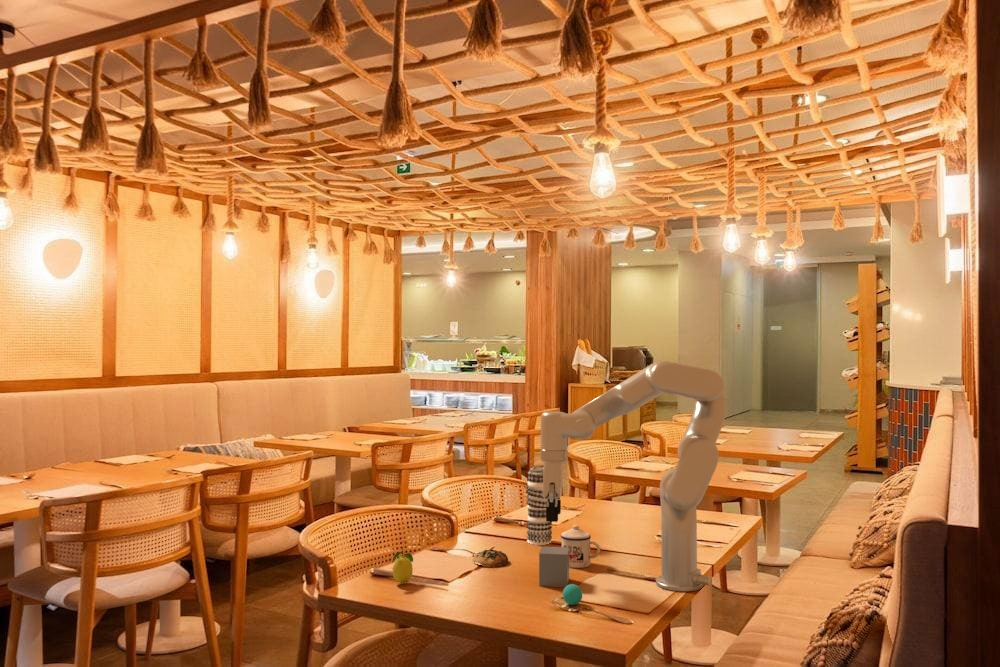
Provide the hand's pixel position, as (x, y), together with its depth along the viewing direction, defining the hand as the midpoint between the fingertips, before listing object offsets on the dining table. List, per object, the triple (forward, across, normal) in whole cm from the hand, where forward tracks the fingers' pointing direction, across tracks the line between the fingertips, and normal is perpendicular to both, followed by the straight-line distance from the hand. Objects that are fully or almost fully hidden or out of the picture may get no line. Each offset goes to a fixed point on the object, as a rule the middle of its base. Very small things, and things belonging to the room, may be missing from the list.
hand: (553, 517), depth 209 cm
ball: (+15, +18, +6) cm, 24 cm away
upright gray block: (+18, 0, 0) cm, 18 cm away
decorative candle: (+18, -45, -8) cm, 49 cm away
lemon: (+18, +8, -41) cm, 46 cm away
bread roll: (+19, -17, -21) cm, 33 cm away
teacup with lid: (+18, -19, +7) cm, 27 cm away
